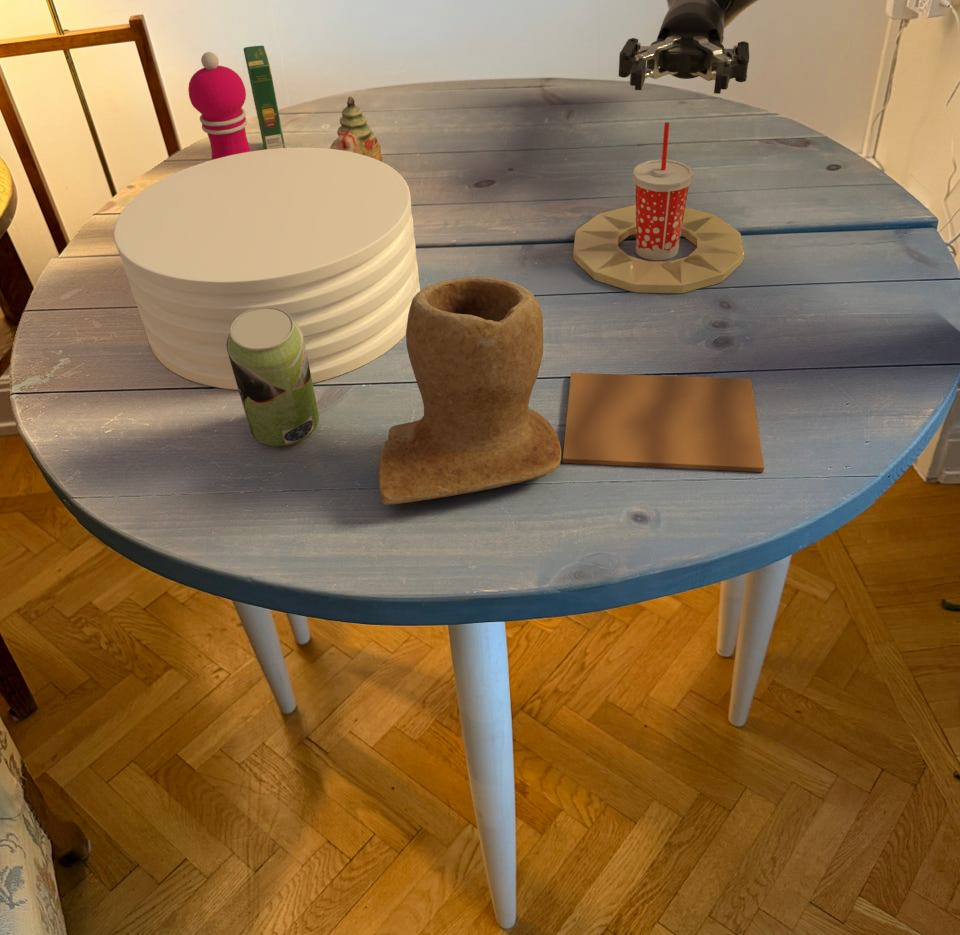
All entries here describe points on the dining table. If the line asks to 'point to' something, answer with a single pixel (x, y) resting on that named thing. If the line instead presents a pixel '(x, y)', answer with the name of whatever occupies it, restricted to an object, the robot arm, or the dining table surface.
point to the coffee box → (264, 97)
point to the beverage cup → (660, 204)
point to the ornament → (356, 133)
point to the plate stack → (272, 257)
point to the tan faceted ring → (700, 269)
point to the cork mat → (662, 422)
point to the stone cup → (470, 394)
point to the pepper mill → (220, 106)
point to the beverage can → (273, 376)
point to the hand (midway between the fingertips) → (678, 83)
